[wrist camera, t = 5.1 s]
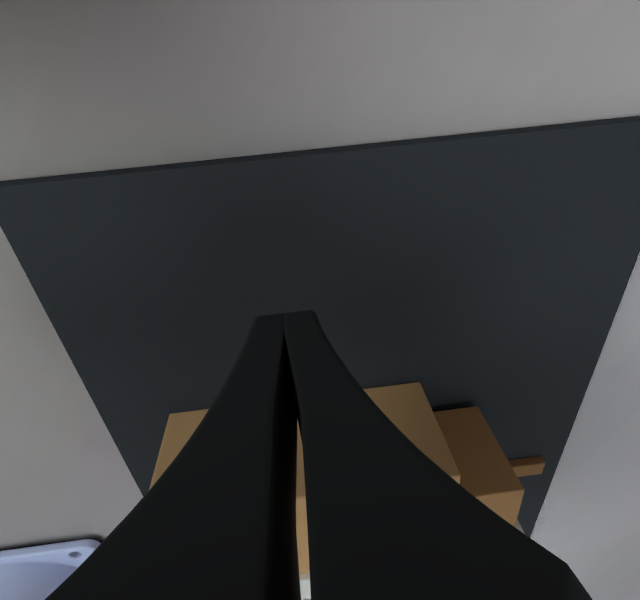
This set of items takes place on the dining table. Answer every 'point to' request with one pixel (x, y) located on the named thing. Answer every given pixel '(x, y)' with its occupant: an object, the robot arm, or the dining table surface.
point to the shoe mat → (347, 274)
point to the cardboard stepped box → (423, 431)
